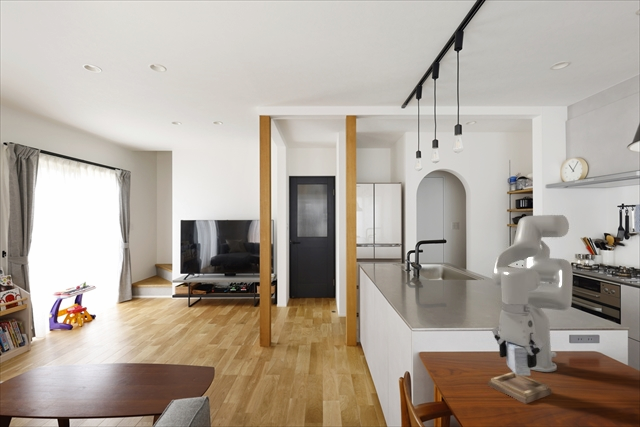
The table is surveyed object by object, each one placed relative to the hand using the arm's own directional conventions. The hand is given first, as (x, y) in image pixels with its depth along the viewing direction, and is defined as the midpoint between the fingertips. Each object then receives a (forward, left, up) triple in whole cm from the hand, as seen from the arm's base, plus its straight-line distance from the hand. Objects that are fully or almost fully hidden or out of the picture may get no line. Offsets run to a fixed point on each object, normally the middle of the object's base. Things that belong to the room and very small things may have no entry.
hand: (517, 361), depth 107 cm
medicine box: (0, 0, -3) cm, 3 cm away
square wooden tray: (0, 0, -9) cm, 9 cm away
